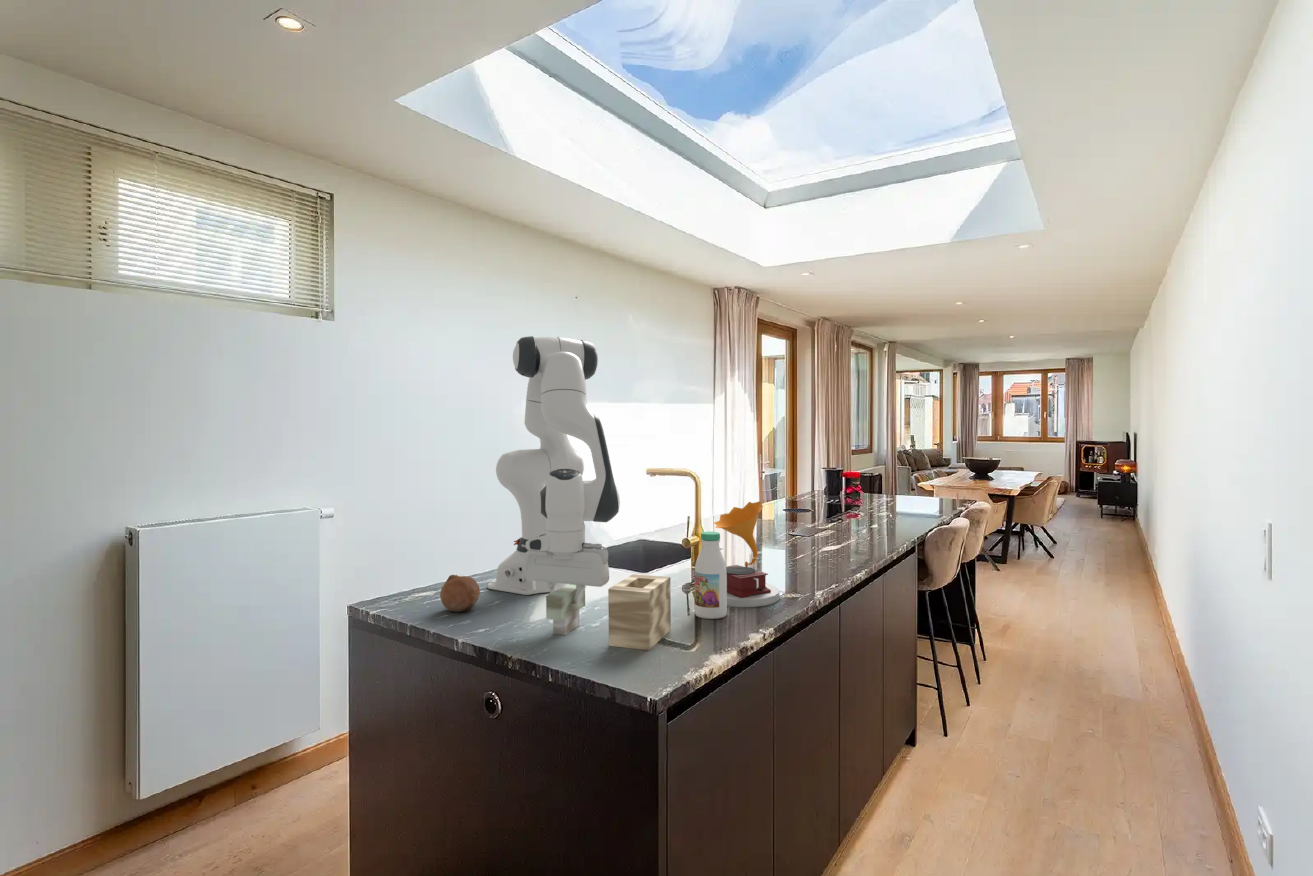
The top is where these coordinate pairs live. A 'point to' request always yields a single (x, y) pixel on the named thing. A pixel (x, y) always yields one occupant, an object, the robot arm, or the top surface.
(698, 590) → the milk bottle
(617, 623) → the wooden square frame
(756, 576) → the gramophone
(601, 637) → the top surface
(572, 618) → the rail end
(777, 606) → the top surface
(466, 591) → the onion
